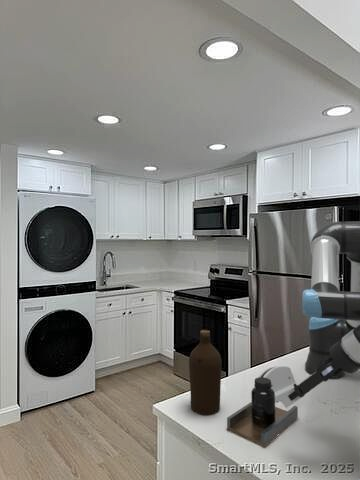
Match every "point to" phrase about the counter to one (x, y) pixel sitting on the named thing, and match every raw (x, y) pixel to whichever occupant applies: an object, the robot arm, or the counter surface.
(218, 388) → the olive oil
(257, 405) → the supplement bottle
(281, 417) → the floor track
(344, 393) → the counter surface
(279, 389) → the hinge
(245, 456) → the counter surface
